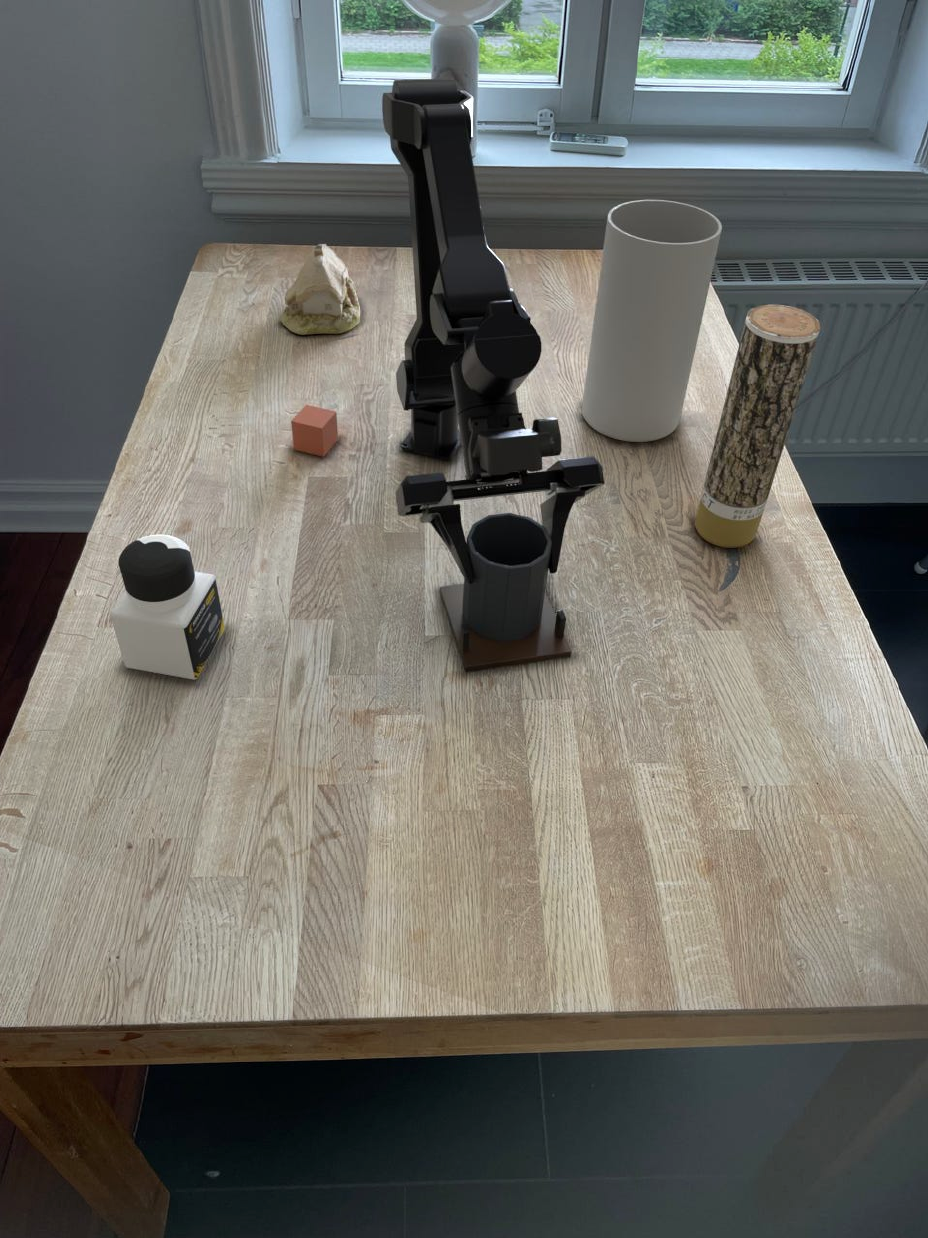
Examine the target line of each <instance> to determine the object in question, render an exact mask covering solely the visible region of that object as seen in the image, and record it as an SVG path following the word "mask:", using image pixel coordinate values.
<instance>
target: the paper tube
mask: <svg viewBox="0 0 928 1238" xmlns="http://www.w3.org/2000/svg"><path fill="white" fill-rule="evenodd" d="M820 330H821V323H820V321H819V320H818V319H817V318H816V317H815V316H814V315H813V314H811V313H809V312H807V311H805V310H803V309H801V308H797V307H794V306H790V305H784V304H762V305H757V306H755V307H753V308H751V309H750V310H749V311H748V312H747V315H746V318H745V319H744V324H743V328H742V332H741V336H740V340H739V344H738V348H737V352H736V355H735V360H734V364H733V368H732V371H731V375H730V379H729V383H728V386H727V387H728V388H727V392H726V395H725V398H724V399H725V400H724V403H723V406H722V407H723V408H722V412H721V415H720V419H719V423H718V427H717V431H716V435H715V439H714V443H713V447H712V451H711V455H710V458H709V459H710V460H709V463H708V467H707V471H706V475H705V478H704V483H703V487H702V491H701V495H700V499H699V504H698V506H697V507H698V508H697V511H696V515H695V519H694V525H695V528H696V531H697V533H698V534H699V536H700V537H701V538H703V539H704V540H705V541H706V542H708V543H709V544H712V545H715V546H718V547H721V548H728V549H733V548H734V549H735V548H741V547H744V546H747V545H748V544H750V543H751V542H752V541H754V539H755V538H756V536H757V533H758V530H759V528H760V524H761V521H762V518H763V514H764V511H765V509H766V505H767V502H768V500H769V496H770V492H771V490H772V485H773V483H774V479H775V476H776V474H777V471H778V467H779V464H780V461H781V457H782V454H783V450H784V448H785V447H784V446H785V443H786V441H787V438H788V435H789V431H790V428H791V425H792V421H793V419H794V416H795V412H796V409H797V406H798V402H799V399H800V396H801V393H802V390H803V386H804V384H805V380H806V377H807V374H808V370H809V368H810V364H811V362H812V357H813V355H814V351H815V348H816V344H817V341H818V338H819V336H820Z"/></svg>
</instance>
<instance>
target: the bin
mask: <svg viewBox="0 0 928 1238" xmlns="http://www.w3.org/2000/svg"><path fill="white" fill-rule="evenodd" d="M466 544H467V548H468V552H469V556H470V561H471V565H472V572H473V583H472V584H467V582H466V580H465V578H464V577H463V584H464V591H463V608H462V611H463V615H464V618H465V621H466V623H467V625H468V626H469V627H470V628H471V629H472V630H474V631H475V632H476V633H477V634H479V635H480V636H482V637H484V638H488V639H492V640H496V641H500V642H504V641H511V640H518V639H523V638H524V637H526V636H527V635H529V634H530V633H532V632H533V631H535V630H536V629H537V627H538V625H539V622H540V619H541V616H542V610H543V603H544V596H545V592H546V589H547V583H548V574H549V562H550V555H551V548H552V541H551V538H550V536H549V534H548V532H547V530H546V528H545V527H543V525H542V523H541V524H540V523H539V522H538V521H536V519H535V520H534V519H533V517H532V518H531V517H530V516H525V515H521V514H517V513H513V512H503V513H497V514H496V513H495V514H488V515H486V516H485V517H483V518H481V519H480V520H477V521H476V522H474V523H473V524H472V525H471V528H470V529H469V531H468V534H467V536H466Z"/></svg>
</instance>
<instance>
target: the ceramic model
mask: <svg viewBox="0 0 928 1238" xmlns="http://www.w3.org/2000/svg"><path fill="white" fill-rule="evenodd" d="M349 276H350V275H349V271H348V268H347V267H346V265H345V263H344V262H343V260H342V259H341V258H340V256H338V254H337V253H336V252H335V251H334V250H333V249H331V248H330V247H328V245H327V244H326V243H319V244H317V245H315V247H314V250H313V251H312V253H311V254H310V255H309V256H308V258H307V259H306V260H305V262H304V263H303V265H302V267H301V268H300V270H299V272H298V273H297V277H296V279H295V281H294V283H293V284H292V285H291V286H290V288H288V290H286V292H285V294H284V295H285V296H284V303H285V305H286V306H285V307H284V309H283V314H282V317H281V320H280V321H281V323H282V325H283V326H285V328H287V329H288V330H289V331H290V332H292V333H294V334H297V335H301V336H306V335H315V334H316V335H318V334H319V335H320V334H343V333H346V332H349V331H351V330H352V329H354V328H356V326H358V325H359V324H360V321H361V320H360V319H361V307H360V302H359V298H358V294H357V291H356V286H355V283H354V281H353V280H352V278H351V277H349Z"/></svg>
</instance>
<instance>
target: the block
mask: <svg viewBox="0 0 928 1238" xmlns="http://www.w3.org/2000/svg"><path fill="white" fill-rule="evenodd" d="M290 423H291V425H290V426H291V435H292V444H293V445H292V446H293V451H298V452H301V453H306V454H310V455H315V456H319V457H322V458H324V457H326V455H327V454H328V453H329V452H330V450H331V449H332V448H333V447H334V446H335V444H336V443H337V442H338V441H339V432H338V414H337V410H331V409H326V408H322V407H319V406H315V405H309V404H305V405H304V407H303V408H301V410H299V412H298V413H297V414H296V415H295V416H294V418H292V420H291V421H290Z"/></svg>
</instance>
